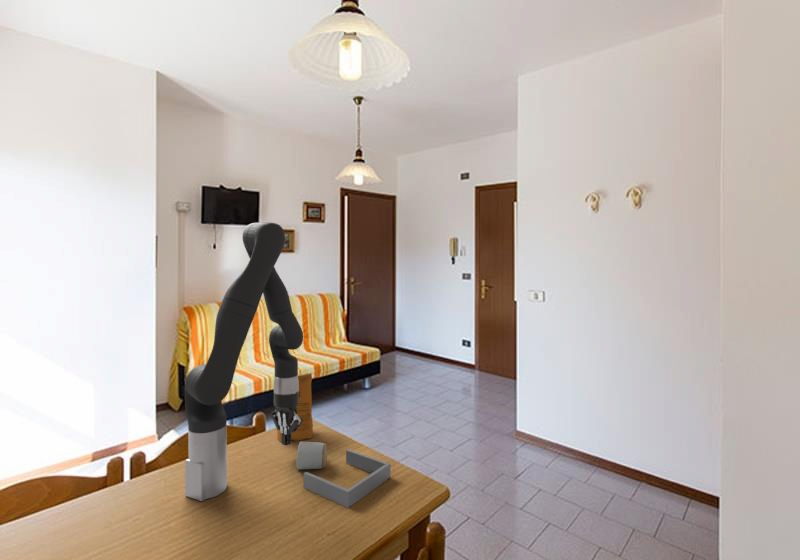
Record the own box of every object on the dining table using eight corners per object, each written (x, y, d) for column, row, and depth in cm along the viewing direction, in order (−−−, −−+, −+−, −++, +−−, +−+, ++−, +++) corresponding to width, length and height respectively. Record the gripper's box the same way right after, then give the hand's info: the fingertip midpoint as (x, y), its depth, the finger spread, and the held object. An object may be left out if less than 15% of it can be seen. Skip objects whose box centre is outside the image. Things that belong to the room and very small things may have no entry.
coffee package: (276, 432, 148) (276, 371, 148) (312, 429, 151) (312, 369, 151) (275, 443, 139) (275, 379, 138) (313, 440, 142) (313, 376, 141)
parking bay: (347, 507, 102) (348, 492, 102) (303, 487, 111) (303, 473, 111) (390, 477, 117) (390, 463, 117) (348, 461, 126) (348, 449, 126)
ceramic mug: (324, 473, 119) (324, 447, 119) (296, 474, 118) (296, 447, 118) (327, 457, 130) (328, 432, 130) (301, 457, 129) (301, 433, 129)
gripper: (262, 388, 129) (262, 443, 129) (291, 396, 121) (291, 454, 122) (282, 383, 135) (282, 435, 136) (310, 390, 128) (310, 445, 128)
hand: (286, 444), depth 129 cm, fingers closed
